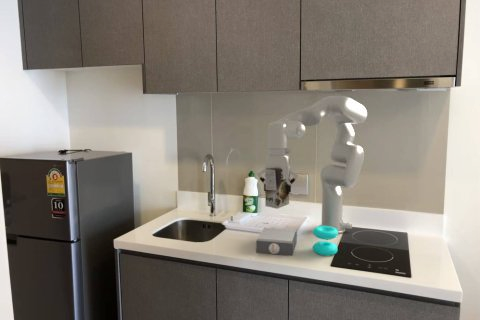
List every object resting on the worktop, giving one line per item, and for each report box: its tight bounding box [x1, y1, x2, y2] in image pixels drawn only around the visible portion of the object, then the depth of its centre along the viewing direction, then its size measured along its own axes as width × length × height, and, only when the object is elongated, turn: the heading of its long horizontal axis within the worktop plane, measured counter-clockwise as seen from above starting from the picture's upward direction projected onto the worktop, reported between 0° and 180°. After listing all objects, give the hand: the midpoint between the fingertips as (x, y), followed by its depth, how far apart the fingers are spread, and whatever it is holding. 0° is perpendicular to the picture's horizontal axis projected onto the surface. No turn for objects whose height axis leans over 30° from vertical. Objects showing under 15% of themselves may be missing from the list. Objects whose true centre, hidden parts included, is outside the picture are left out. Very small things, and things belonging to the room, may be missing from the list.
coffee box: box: [264, 168, 290, 210], centre depth 165 cm, size 9×6×16 cm
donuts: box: [312, 225, 339, 257], centre depth 163 cm, size 10×10×10 cm
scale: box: [255, 226, 298, 257], centre depth 168 cm, size 15×16×6 cm
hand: (277, 193), depth 165 cm, fingers closed on coffee box, 8 cm apart
